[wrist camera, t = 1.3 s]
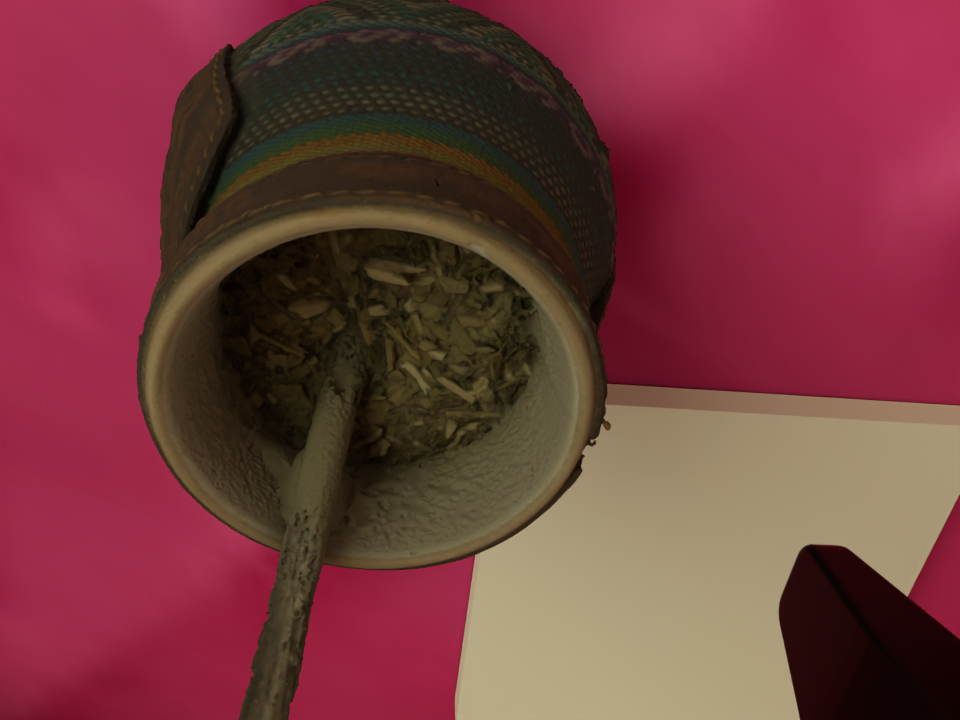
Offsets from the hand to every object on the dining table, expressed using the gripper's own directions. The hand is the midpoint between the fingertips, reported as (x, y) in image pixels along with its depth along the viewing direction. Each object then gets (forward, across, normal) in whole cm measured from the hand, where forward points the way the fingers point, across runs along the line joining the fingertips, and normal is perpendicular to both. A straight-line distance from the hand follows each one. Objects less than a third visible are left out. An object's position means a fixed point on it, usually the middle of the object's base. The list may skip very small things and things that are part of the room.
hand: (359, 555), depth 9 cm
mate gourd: (+10, 0, 0) cm, 10 cm away
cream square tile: (+10, -8, +10) cm, 16 cm away
